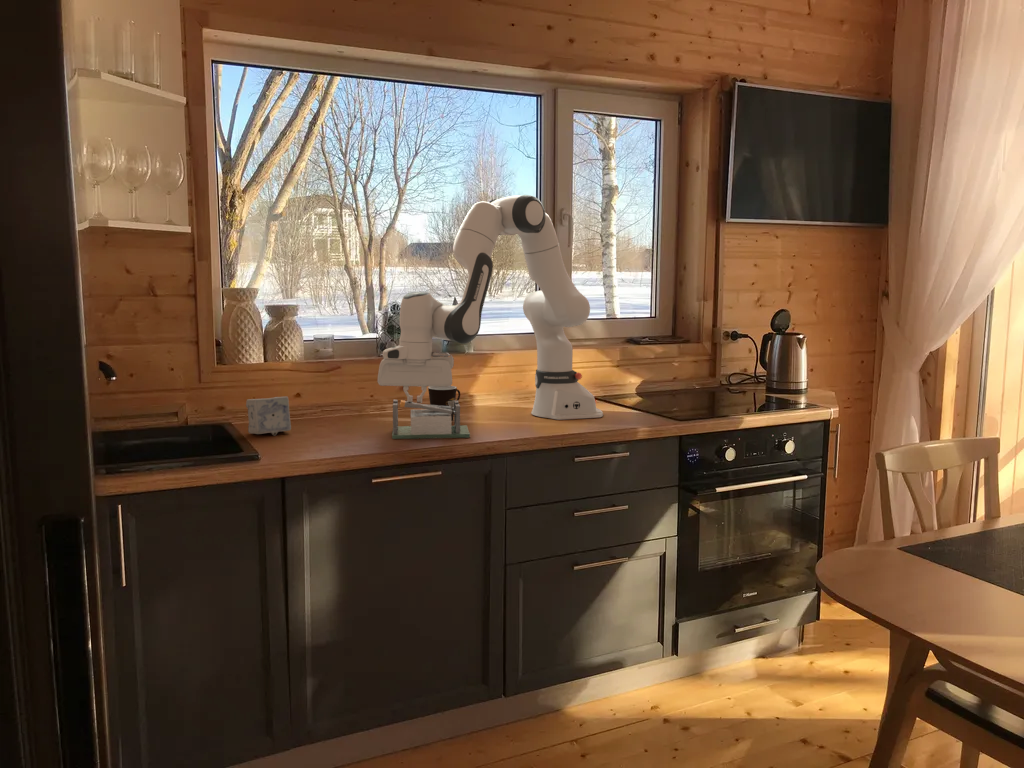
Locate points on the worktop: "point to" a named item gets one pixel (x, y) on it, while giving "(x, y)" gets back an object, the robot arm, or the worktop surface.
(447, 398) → the coffee mug
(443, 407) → the silver flat bar
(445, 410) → the strap
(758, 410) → the worktop surface
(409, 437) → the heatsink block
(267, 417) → the incense holder
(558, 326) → the robot arm
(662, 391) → the worktop surface
